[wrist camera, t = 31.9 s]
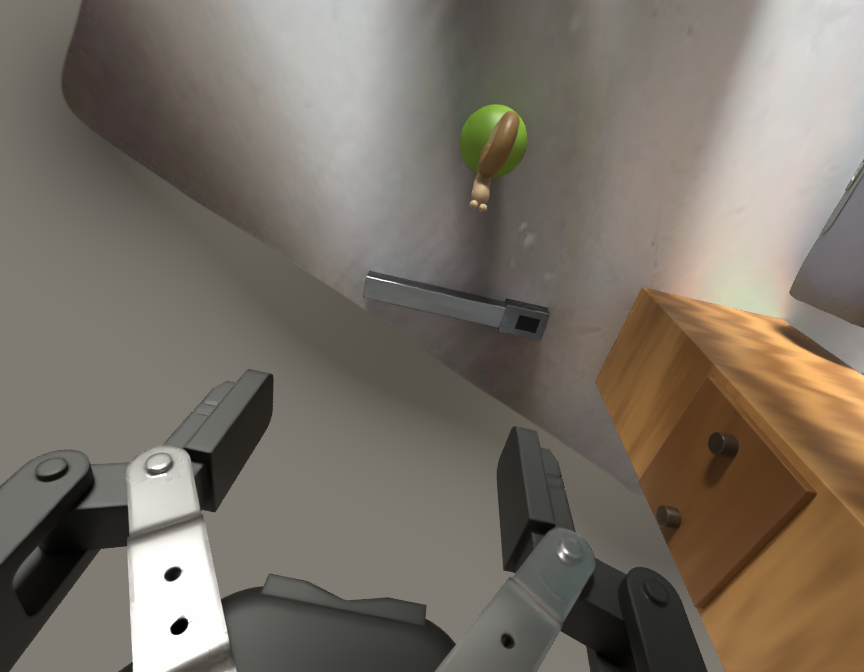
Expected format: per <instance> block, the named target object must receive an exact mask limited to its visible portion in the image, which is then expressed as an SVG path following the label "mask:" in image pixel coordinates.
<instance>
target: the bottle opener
mask: <svg viewBox="0 0 864 672" xmlns="http://www.w3.org/2000/svg"><path fill="white" fill-rule="evenodd" d="M363 297H364V298H368V299H373V300H377V301H382V302H386V303H391V304H395V305H399V306H404V307H408V308H413V309H417V310H422V311H426V312H430V313H435V314H439V315H444V316H448V317H453V318H457V319H462V320H466V321H470V322H475V323H479V324H484V325H488V326H493V327H497V328H498V330H499V332H503V333H508V334H512V335H517V336H521V337H526V338H530V339H534V340H539V341H540V339H541V337H542V334H543V332H544V329H545V326H546V324H547V321H548V319H549V316H550V313H549V310H548V308H546V307H541V306H537V305H532V304H528V303H524V302H519V301H515V300H510V299H506V301H505V302H503V301H499V300H494V299H490V298H485V297H481V296H477V295H472V294H468V293H463V292H459V291H455V290H450V289H446V288H441V287H437V286H433V285H428V284H424V283H419V282H415V281H411V280H406V279H402V278H398V277H393V276H389V275H384V274H380V273H376V272H371V271H369V273H368V274H367V276H366V281H365V288H364V295H363Z"/></svg>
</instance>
